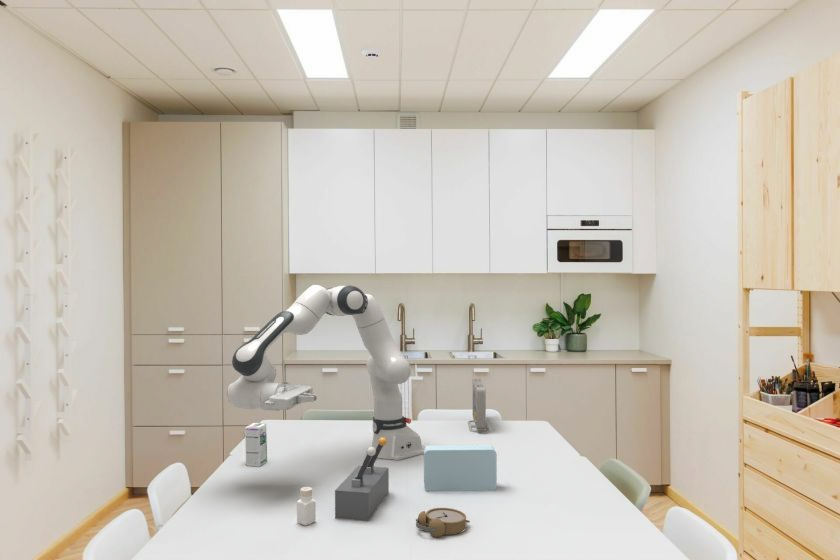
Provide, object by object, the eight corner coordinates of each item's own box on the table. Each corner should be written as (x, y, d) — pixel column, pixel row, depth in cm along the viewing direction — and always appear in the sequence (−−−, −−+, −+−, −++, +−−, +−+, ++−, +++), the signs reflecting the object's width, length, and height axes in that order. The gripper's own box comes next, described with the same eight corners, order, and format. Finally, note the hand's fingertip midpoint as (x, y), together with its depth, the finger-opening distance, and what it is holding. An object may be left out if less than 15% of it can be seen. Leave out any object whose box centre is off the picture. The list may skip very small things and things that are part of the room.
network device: (490, 434, 254) (490, 388, 254) (470, 434, 254) (470, 388, 254) (485, 419, 279) (485, 378, 279) (466, 419, 279) (466, 378, 279)
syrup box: (260, 467, 212) (259, 427, 212) (245, 466, 213) (244, 426, 213) (267, 462, 217) (267, 423, 217) (252, 461, 219) (252, 422, 218)
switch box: (335, 518, 167) (334, 483, 167) (358, 490, 189) (358, 459, 189) (368, 521, 165) (368, 485, 165) (388, 492, 187) (388, 461, 187)
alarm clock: (475, 518, 160) (432, 522, 152) (473, 536, 160) (429, 541, 151) (449, 505, 170) (408, 508, 161) (447, 522, 169) (405, 526, 160)
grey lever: (351, 482, 171) (367, 446, 169) (354, 479, 173) (370, 444, 172) (359, 486, 170) (375, 451, 169) (362, 483, 173) (378, 448, 172)
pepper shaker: (307, 518, 167) (307, 485, 167) (316, 521, 165) (316, 488, 165) (296, 522, 164) (295, 489, 164) (305, 526, 162) (305, 492, 162)
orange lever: (363, 469, 181) (379, 436, 180) (365, 466, 184) (382, 434, 183) (370, 473, 181) (387, 441, 180) (372, 471, 183) (389, 438, 182)
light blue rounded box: (493, 484, 194) (493, 444, 194) (496, 490, 188) (496, 449, 188) (423, 485, 194) (423, 445, 193) (424, 491, 188) (424, 450, 188)
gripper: (260, 393, 180) (302, 395, 177) (288, 381, 200) (326, 382, 198) (260, 413, 180) (302, 415, 178) (288, 399, 200) (326, 401, 198)
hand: (315, 398), depth 188 cm, fingers closed
